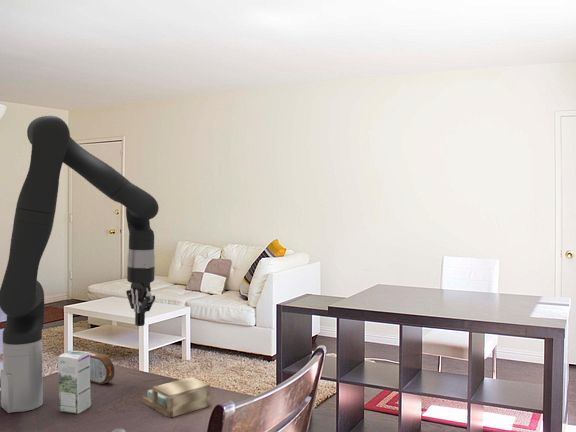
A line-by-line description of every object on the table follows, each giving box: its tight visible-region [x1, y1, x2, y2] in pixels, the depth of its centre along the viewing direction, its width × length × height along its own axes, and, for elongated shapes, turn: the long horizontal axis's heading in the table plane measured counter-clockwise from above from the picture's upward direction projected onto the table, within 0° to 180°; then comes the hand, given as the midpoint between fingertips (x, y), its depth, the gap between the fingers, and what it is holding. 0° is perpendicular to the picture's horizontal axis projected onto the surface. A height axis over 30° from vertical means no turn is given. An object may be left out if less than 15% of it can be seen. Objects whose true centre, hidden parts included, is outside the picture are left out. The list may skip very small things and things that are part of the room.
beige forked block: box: [142, 376, 211, 419], centre depth 151 cm, size 12×13×6 cm
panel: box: [146, 389, 167, 407], centre depth 153 cm, size 8×15×2 cm, turn 43°
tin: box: [82, 349, 115, 385], centre depth 170 cm, size 15×3×8 cm, turn 58°
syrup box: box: [57, 350, 92, 415], centre depth 147 cm, size 6×6×14 cm
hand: (139, 325), depth 165 cm, fingers closed
